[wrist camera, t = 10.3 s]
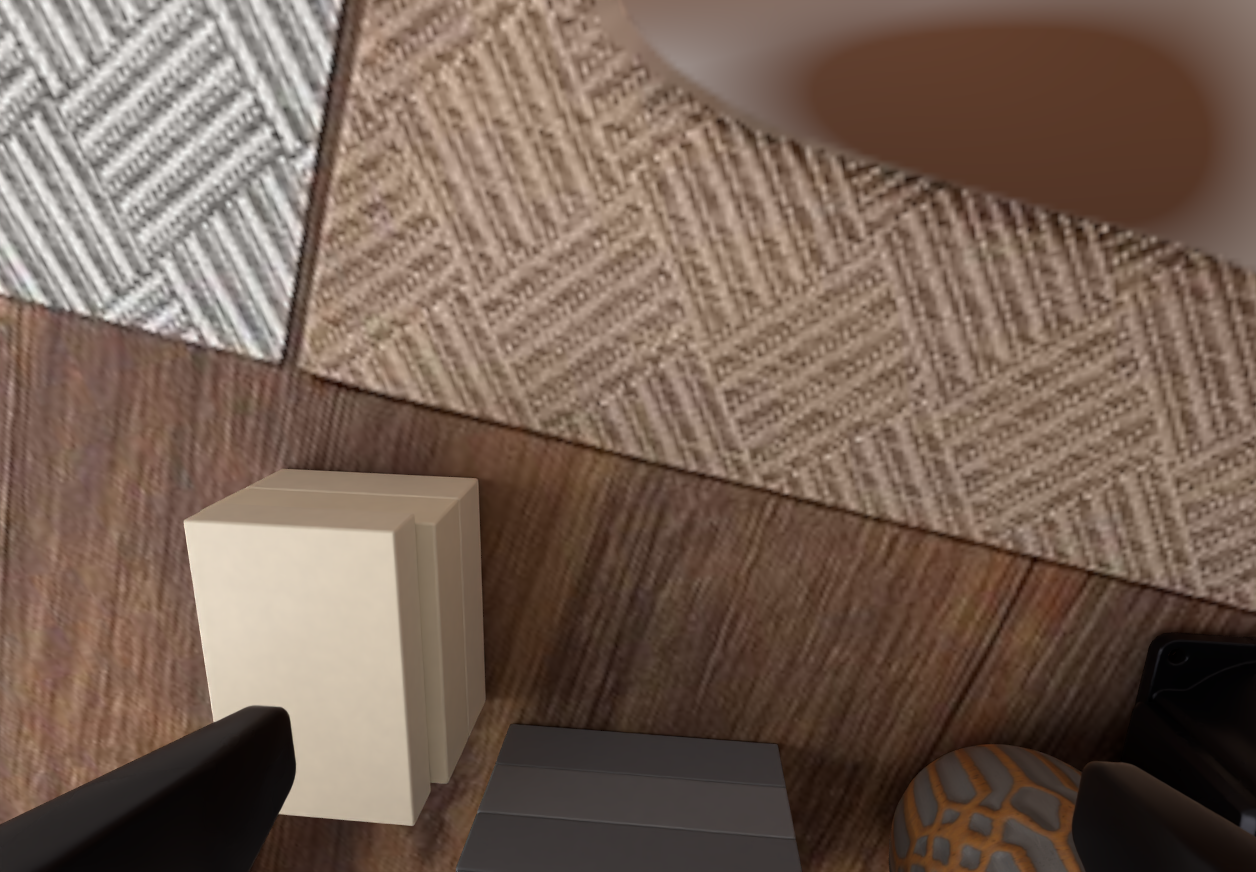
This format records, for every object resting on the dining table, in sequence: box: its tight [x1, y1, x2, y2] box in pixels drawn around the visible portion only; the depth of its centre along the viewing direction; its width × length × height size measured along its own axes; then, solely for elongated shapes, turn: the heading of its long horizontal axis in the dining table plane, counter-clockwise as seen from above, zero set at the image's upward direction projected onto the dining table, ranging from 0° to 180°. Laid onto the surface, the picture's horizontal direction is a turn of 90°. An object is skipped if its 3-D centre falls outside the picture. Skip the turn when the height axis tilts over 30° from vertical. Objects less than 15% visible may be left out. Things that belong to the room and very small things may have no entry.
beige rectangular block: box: [200, 469, 486, 784], centre depth 19 cm, size 6×8×4 cm
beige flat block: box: [184, 503, 431, 826], centre depth 17 cm, size 8×5×1 cm, turn 179°
